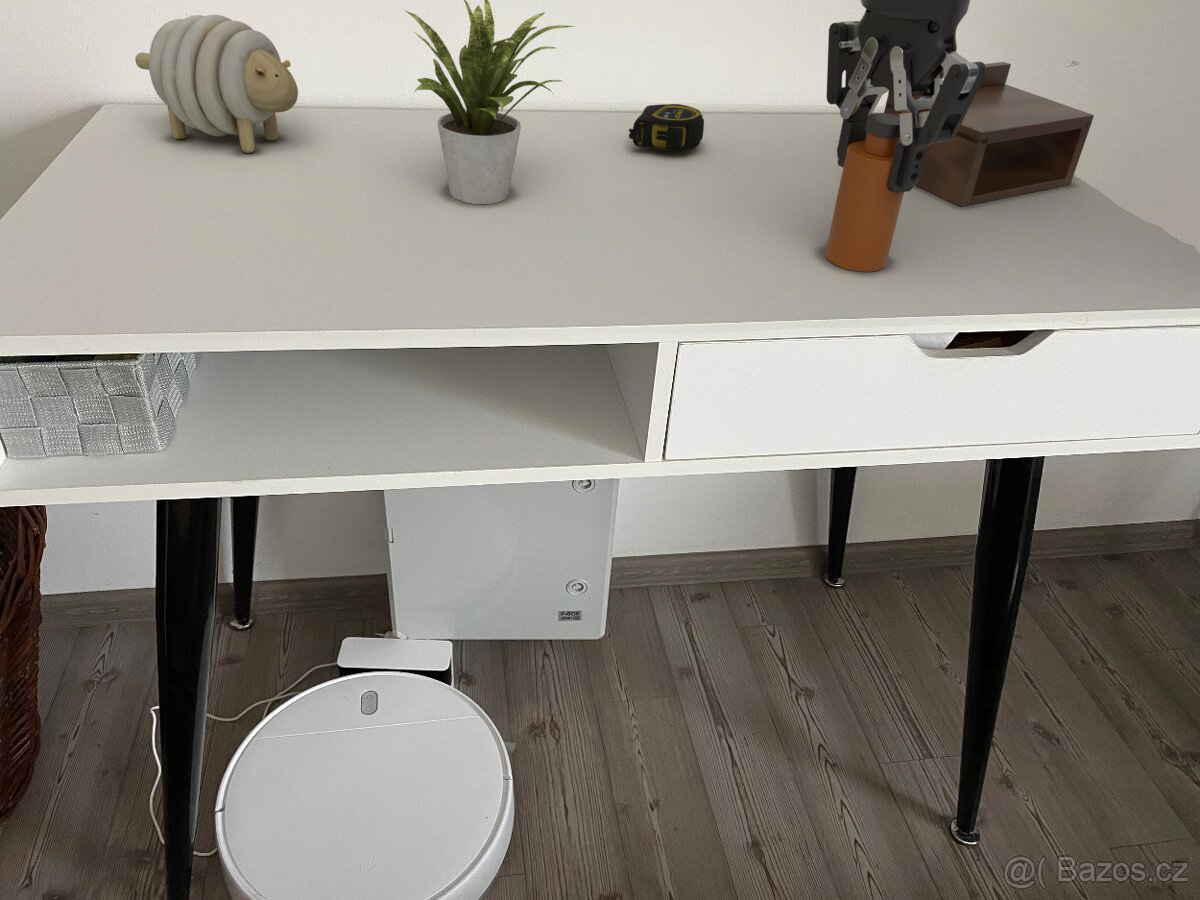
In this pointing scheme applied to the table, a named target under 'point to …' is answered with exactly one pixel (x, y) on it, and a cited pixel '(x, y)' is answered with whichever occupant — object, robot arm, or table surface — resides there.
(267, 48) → the toy sheep
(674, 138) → the tape measure
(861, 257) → the bottle
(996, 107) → the box
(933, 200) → the table surface
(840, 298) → the table surface
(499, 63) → the house plant
